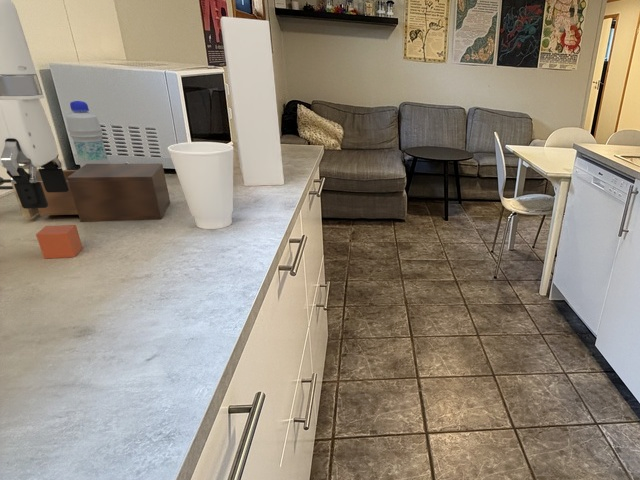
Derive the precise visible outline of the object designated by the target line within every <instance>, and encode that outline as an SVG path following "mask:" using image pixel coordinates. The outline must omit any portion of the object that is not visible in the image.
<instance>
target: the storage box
mask: <svg viewBox="0 0 640 480" xmlns="http://www.w3.org/2000/svg"><path fill="white" fill-rule="evenodd" d="M219 22H220V28H221V29H220V30H221V35H222V43H223V50H224V58H225V65H226V72H227V80H228V86H229V94H230V101H231V109H232V110H231V111H232V117H233V123H234V131H235V139H236V147H237V154H238V161H239V168H240V173H241V177H242V181H243V185H244V187H257V186H258V187H261V186H282V185H283V186H284V185H285V177H284V169H283V167H284V166H283V157H282V148H281V147H282V146H281V135H280V125H279V115H278V114H279V113H278V102H277V94H276V93H277V92H276V81H275V72H274V71H275V70H274V62H273V61H274V59H273V51H272V40H271V29H270V28H271V27H270V21H269V20H264V19H263V20H262V19H255V18H252V19H251V18H244V17H243V18H241V17H232V16H221V18H220V21H219Z"/></svg>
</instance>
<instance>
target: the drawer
mask: <svg viewBox="0 0 640 480" xmlns="http://www.w3.org/2000/svg"><path fill="white" fill-rule="evenodd" d="M39 169H40V168H37V182H40V183H41V185H42V188H43V191H44V194H45V197H46V200H47V203H48V206H47V207H46V208H28V209H25V208H23V207H22V205H21V202H20V199H19V197H18V194H17V191H16V189H15V186H14V184H13V183H12V182H11V178H3V177H1V176H0V190H1V191H4V190H7V191H8V190H13V192H14V195H15V199H16V200H17V203H18V206H19V209H20V211H21V214H22V217H23V219H32V218H33V217H35V216H36V215H38V214H39V216H65V215H66V216H68V215H69V216H70V215H78V212H77V209H76V205H75V202H74V199H73V195H72V192H71V189H70V186H69V182H68V179H67V177H68V176H70V175H71V174H73V173H74V172H76V171H77V170H78V169H67V170H66V169H65V170H63V173H64V176H65V179H66V182H67V185H68V188H69V190H68V191H67V192H47V191H46V190H45V187H44V184H43V181H42V178H41V175H40V172H39ZM6 183H7V184H10V185H4V184H6Z"/></svg>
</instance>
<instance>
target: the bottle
mask: <svg viewBox="0 0 640 480" xmlns="http://www.w3.org/2000/svg"><path fill="white" fill-rule="evenodd" d="M69 106H70V109H71V112H70V113H68V114H67V115H66V116H65V118H66V125H67V131H68V133H69V136H70V137H71V139H72V141H73V145H74V149H75V152H76V155H77V158H78V163H79V167H80V168H81V167H83V166H84V165H86V164H110V161H109V160H108V155H107V151H106V148H105V143H104V140H103V137H104V134H103V128H102V126H101V124H100V122H99V119H98V116H97V115H95V114H93V113H92V112H90V109H89V106H88V104H87V102H85V101H82V100H74V101H71V102H70V103H69Z"/></svg>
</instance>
